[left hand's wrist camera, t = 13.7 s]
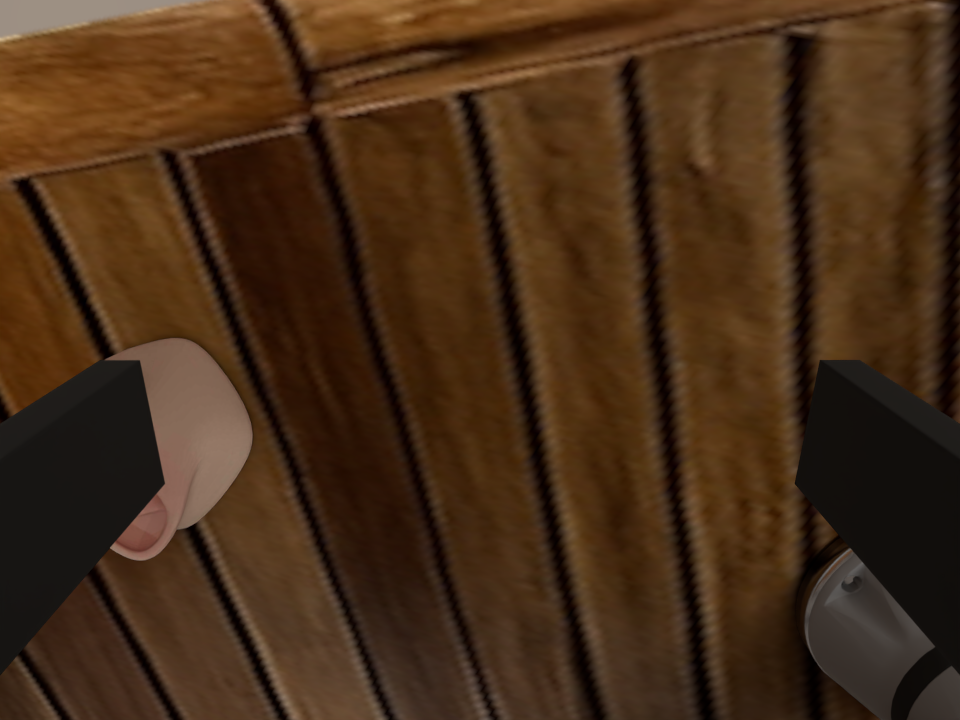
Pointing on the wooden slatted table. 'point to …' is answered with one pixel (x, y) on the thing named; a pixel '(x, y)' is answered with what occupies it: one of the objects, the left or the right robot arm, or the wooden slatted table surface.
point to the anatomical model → (186, 440)
